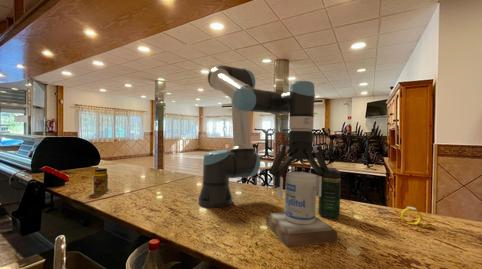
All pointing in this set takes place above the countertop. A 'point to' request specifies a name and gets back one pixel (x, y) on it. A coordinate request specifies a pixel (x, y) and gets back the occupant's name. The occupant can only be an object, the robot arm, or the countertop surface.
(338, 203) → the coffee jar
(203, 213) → the countertop surface
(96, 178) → the condiment
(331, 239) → the plinth
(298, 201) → the supplement tub
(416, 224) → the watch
